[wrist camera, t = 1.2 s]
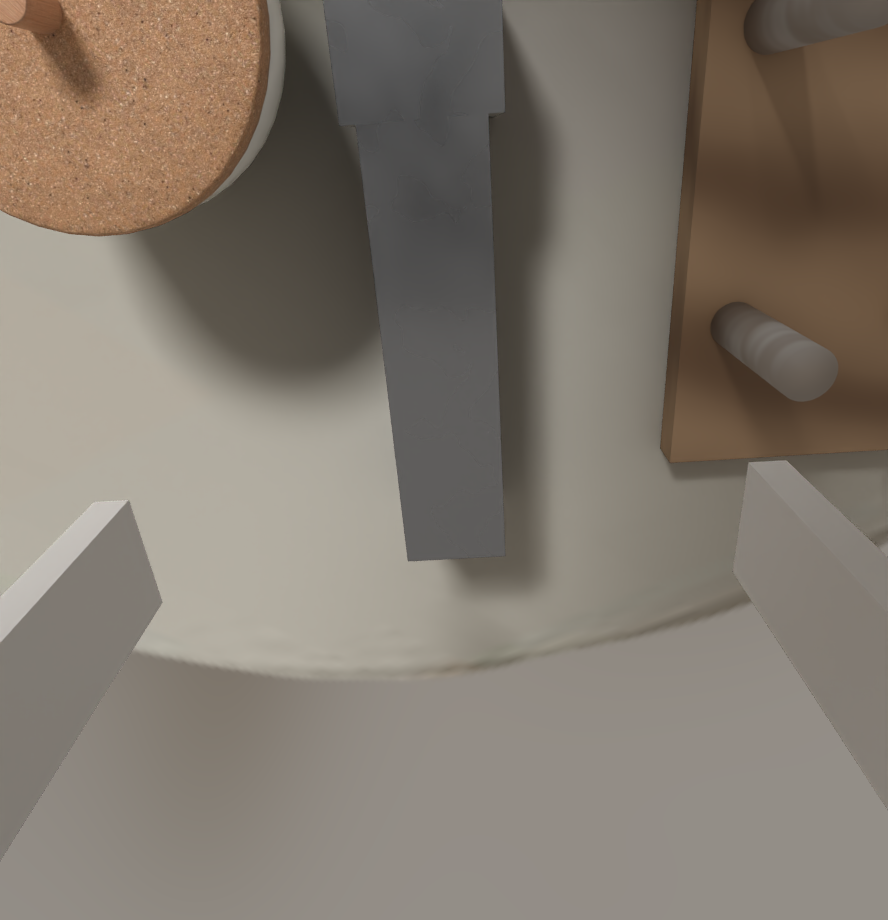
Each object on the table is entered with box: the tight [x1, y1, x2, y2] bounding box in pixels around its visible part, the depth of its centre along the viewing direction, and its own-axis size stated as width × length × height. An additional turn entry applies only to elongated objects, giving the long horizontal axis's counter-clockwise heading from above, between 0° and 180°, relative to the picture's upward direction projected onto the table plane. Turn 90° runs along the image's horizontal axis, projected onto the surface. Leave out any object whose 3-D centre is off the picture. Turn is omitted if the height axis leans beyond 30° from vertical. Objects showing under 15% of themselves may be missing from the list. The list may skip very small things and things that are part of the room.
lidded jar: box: [0, 0, 286, 236], centre depth 19 cm, size 11×11×9 cm
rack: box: [660, 0, 888, 463], centre depth 21 cm, size 22×11×8 cm, turn 4°
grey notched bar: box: [323, 0, 505, 561], centre depth 24 cm, size 20×5×5 cm, turn 4°
